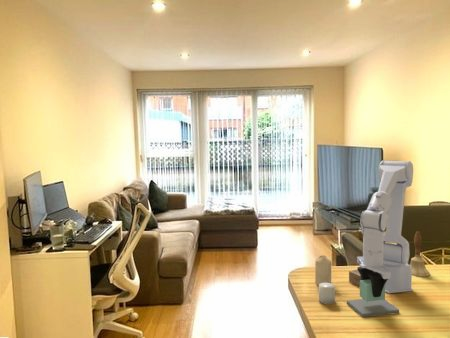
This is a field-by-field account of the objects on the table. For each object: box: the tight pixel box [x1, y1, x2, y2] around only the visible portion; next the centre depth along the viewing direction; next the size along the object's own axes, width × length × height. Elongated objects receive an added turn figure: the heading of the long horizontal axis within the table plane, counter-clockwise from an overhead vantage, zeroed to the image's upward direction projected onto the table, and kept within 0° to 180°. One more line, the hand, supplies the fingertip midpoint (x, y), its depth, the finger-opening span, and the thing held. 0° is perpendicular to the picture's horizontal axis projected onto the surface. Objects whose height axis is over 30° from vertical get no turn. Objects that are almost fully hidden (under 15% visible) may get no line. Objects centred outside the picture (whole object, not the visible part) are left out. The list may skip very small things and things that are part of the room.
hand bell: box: [409, 231, 430, 277], centre depth 140 cm, size 8×8×16 cm
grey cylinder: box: [318, 282, 336, 305], centre depth 118 cm, size 5×5×5 cm
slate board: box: [346, 298, 400, 318], centre depth 112 cm, size 12×9×1 cm
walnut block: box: [348, 269, 362, 287], centre depth 132 cm, size 5×5×4 cm
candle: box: [314, 255, 332, 286], centre depth 131 cm, size 6×6×10 cm
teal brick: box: [359, 280, 386, 302], centre depth 112 cm, size 6×4×5 cm, turn 101°
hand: (372, 293), depth 112 cm, fingers closed on teal brick, 4 cm apart
